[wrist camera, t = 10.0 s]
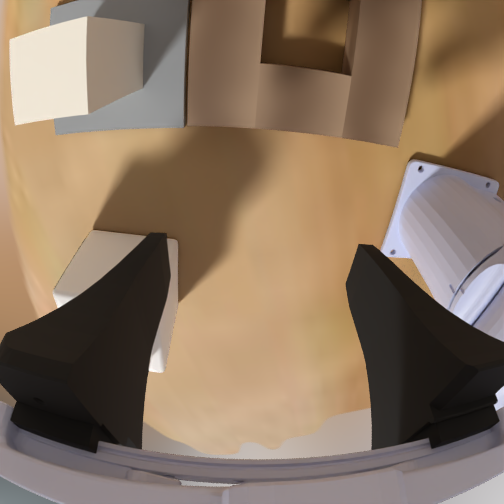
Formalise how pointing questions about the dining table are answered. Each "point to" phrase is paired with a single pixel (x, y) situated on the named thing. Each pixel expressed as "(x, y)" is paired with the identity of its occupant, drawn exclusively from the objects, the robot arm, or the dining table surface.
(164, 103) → the mat
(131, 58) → the peg
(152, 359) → the white bottle
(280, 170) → the dining table surface
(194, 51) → the pocket block
